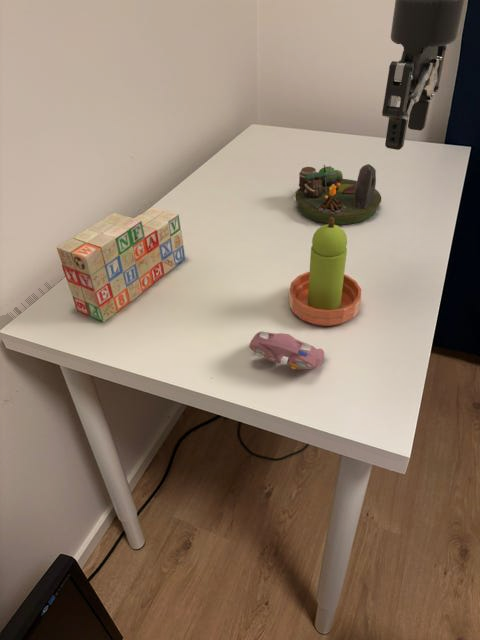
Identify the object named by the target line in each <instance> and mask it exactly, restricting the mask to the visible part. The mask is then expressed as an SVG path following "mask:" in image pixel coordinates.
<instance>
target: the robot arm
mask: <svg viewBox="0 0 480 640" xmlns="http://www.w3.org/2000/svg"><path fill="white" fill-rule="evenodd" d="M464 4H465V0H395V2H394V8H393V14H392V15H393V16H392V22H391V23H392V24H391V30H390V40H391V41H392V42H393V43H394V44H396V45H400V46H402V47H403V51H402V54H401V58H400V60H398V61H394V60H392V61H391V62H390V64H389V67H388V75H387V80H386V87H385V94H384V101H383V105H382V111H381V116H382V117H385V118H386V117H387V118H388V122H387V129H386V137H385V143H384V146H385V148H387V149H389V150H396V151H400V150H402V149H403V148H404V145H405V141H406V134H407V128H408V129H409V130H413V131H423V130H424V129H425V127H426V125H427V124H426V123H427V119H428V113H429V109H430V104H431V101H432V100H433V99H434V97H435V93H437V92H438V91H439V89H440V81H441V76H442V70H443V67H444V60H445V55H446V51H447V46H448V45H450V44H452V43H454V42H455V41H456V39H457V37H458V34H459V33H458V32H459V28H460V23H461V18H462V13H463V9H464ZM398 103H399V106H398Z"/></svg>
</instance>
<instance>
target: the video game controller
mask: <svg viewBox="0 0 480 640" xmlns="http://www.w3.org/2000/svg"><path fill="white" fill-rule="evenodd" d="M248 347H249V350H251V351H253V352H254V354H255V356H256V357H258V358H263V357H264V358H265V359H267V360H268V361H270V362H273V363H276V364H280V363H281V361H282V360H283V357H285V358H287V360H286V365H287V366H288V367H290V368H291V369H292V370H304V369H307V370H313V369H315V368H318V367H320V366H321V365H322V364H323V362H324V359H325V351H324V349H323V348H316V347H315V346H313V345H311V344H309V343H306V342H304V341H302V340H299V339H297V338H295V337H294V336H292V335H290V334H288V333H282V332H280V333H276V332H275V333H273V332H268V331H264V330H263V331H258V332H256V334H255V335H254V336H253V337H252V339H251V340H250V343H249V345H248Z"/></svg>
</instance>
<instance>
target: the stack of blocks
mask: <svg viewBox="0 0 480 640" xmlns="http://www.w3.org/2000/svg"><path fill="white" fill-rule="evenodd" d="M56 250H57V253H58V256H59V259H60V262H61V269H62V271H63V273H64V277H65V280H66V281H67V284H68V288H69V290H70V293H71V297H72V300H73V303H74V306H75V310H76V311H77V312H79V313H81V314H84V315H86V316H87V317H91V318H93V319H95V320H98V321H100V322H102V323H105V322H106V321H108V320H109V319H110V318H111V317H113V316H114V315H115V314H117V313H118V312H120V311H121V310H123V308H124V307H126V306H127V305H129V304H130V303H131V302H132V301H134V300H135V299H136V298H138V297H139V296H141V294H142V293H143V292H145V291H146V290H147V289H148V288H150V287H151V286H153V284H154V283H156V282H157V281H158V280H160V279H161V278H162V277H163V276H164V275H166V274H168V273H169V272H170V271H172V270H174V268H175V267H177V266H178V265H179V264H180V263H182V262H183V261H185V259H186V256H185V246H184V238H183V232H182V228H181V221H180V215H179V213H176V212H171V211H169V210H164V209H160V208H156V207H153V206H152V207H150V208H149V209H146V211H144V212H142V213H141V214H139V215H137V216H135V217H134V218H133V217H130V216H125V215H122V214H119V213H115V212H113V213H111V214H109V215H107V216H106V217H104V218H103V219H101V220H100V221H98V222H96V223H95V224H93V225H91V226H90V227H88V228H87V229H85V230H83V231H81V232H80V233H78V234H76V235H75V236H73V237H72V238H69V239H68V240H66V241H64V242H61V244H59V245H57V246H56Z"/></svg>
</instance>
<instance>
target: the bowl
mask: <svg viewBox="0 0 480 640" xmlns="http://www.w3.org/2000/svg"><path fill="white" fill-rule="evenodd" d="M309 273H310V271H307V272H304V273H302V274H299V275H297V277H295V278H294V279H293V280H292V281H291V283H290V285H289V290H288V291H289V292H288V293H289V294H288V305H289V307H290V309H291V311H292V313H293V315H296V316H297V317H298V318H299V319H300V320H302V321H305V322H306V323H309V324H312V325H314V326H315V325H316V326H322V327H323V326H324V327H328V326H329V327H331V326H337V325H340V324H344V323H346V322H348V321H350V320H352V319H354V318H355V317H356V315H357V314H358V313H359V311H360V306H361V301H362V288H361V286H360V285H359V283H358V282H357V281H356V280H355V279H353V278H352V277H350V276H349V275H348V274H345V273H344V279H343V288H342V296H341V304H340V307H339V308H338V309H334V310H323V309H315V308H312V307H310V306H309V305H308V288H309Z"/></svg>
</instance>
